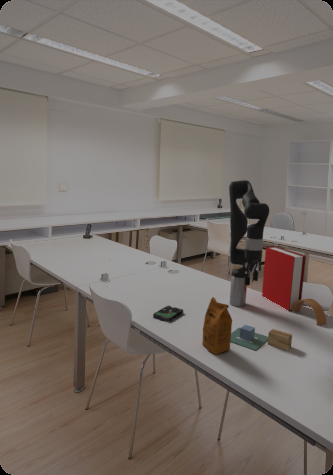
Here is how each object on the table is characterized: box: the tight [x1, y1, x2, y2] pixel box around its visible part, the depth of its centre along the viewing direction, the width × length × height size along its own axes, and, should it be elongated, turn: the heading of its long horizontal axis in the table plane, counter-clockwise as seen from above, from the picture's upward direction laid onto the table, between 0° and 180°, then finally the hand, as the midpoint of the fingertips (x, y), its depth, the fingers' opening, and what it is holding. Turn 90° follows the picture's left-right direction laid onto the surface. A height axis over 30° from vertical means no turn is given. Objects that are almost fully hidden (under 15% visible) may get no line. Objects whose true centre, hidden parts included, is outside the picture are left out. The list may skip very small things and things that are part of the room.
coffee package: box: [201, 296, 233, 355], centre depth 155 cm, size 10×12×22 cm
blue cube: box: [239, 324, 256, 341], centre depth 166 cm, size 5×5×5 cm
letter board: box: [230, 327, 268, 352], centre depth 166 cm, size 16×16×1 cm
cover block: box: [267, 328, 293, 352], centre depth 160 cm, size 5×9×6 cm, turn 52°
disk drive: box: [152, 305, 184, 323], centre depth 190 cm, size 10×3×15 cm
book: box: [261, 245, 307, 312], centre depth 212 cm, size 27×8×32 cm, turn 20°
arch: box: [290, 298, 327, 326], centre depth 192 cm, size 6×20×10 cm, turn 21°
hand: (251, 282), depth 161 cm, fingers open, 8 cm apart
